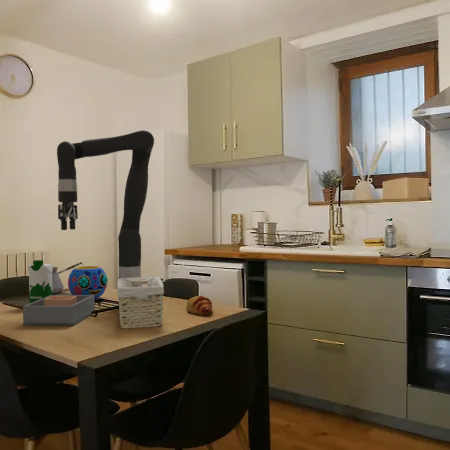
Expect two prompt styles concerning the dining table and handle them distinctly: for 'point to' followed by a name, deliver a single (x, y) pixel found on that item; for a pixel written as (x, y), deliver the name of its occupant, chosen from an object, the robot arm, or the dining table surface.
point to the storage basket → (140, 302)
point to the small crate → (60, 301)
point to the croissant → (199, 305)
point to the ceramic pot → (87, 281)
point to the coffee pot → (56, 281)
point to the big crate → (58, 312)
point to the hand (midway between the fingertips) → (68, 229)
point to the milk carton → (40, 280)
